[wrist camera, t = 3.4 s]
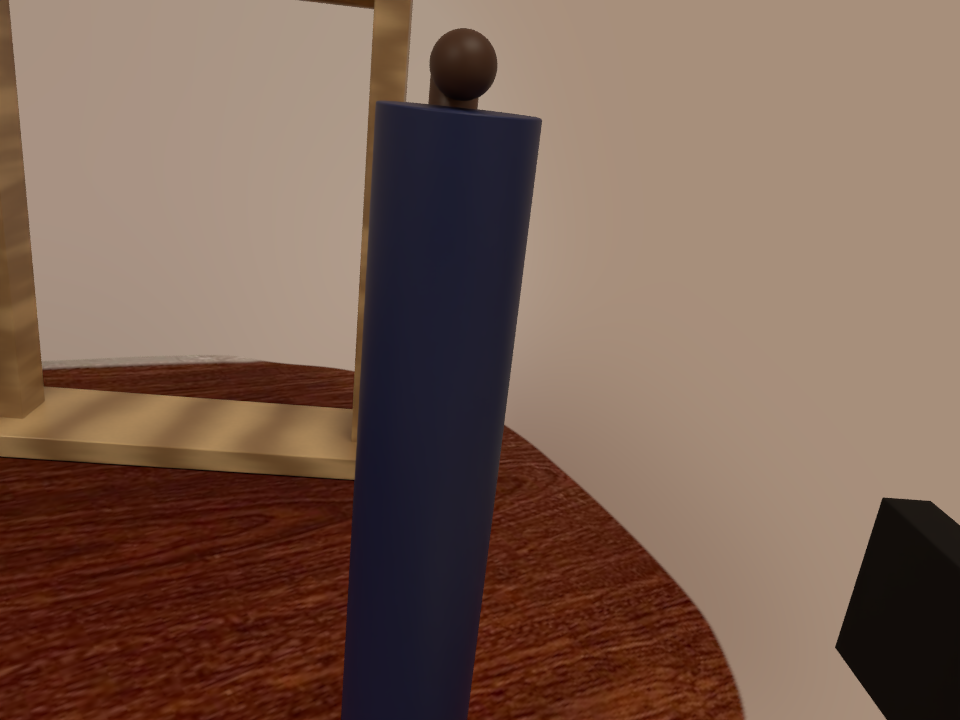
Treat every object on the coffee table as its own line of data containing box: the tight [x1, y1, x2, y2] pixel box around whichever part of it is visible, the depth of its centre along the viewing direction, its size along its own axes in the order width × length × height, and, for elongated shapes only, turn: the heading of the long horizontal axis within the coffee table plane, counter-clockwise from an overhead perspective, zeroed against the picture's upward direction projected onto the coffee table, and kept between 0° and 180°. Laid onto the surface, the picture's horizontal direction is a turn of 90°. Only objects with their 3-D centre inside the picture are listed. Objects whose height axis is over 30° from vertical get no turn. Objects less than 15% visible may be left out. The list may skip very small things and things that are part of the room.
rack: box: [0, 0, 413, 480], centre depth 47 cm, size 25×8×31 cm, turn 93°
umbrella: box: [341, 28, 542, 720], centre depth 25 cm, size 10×4×26 cm, turn 3°
